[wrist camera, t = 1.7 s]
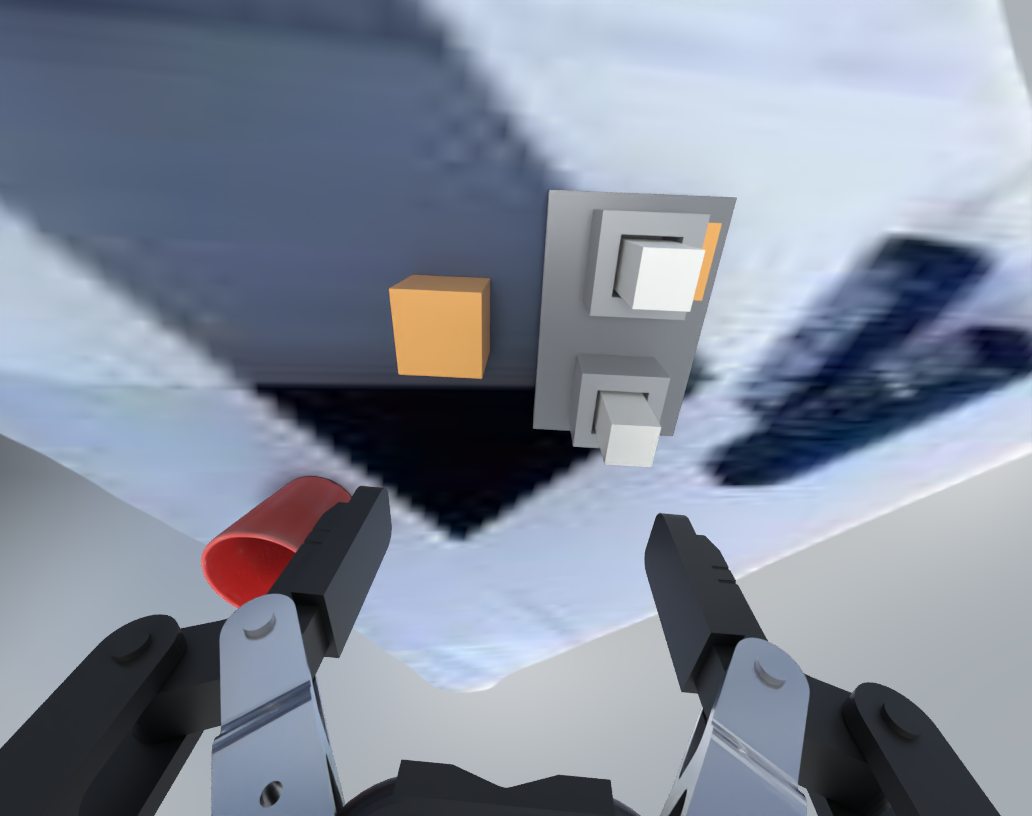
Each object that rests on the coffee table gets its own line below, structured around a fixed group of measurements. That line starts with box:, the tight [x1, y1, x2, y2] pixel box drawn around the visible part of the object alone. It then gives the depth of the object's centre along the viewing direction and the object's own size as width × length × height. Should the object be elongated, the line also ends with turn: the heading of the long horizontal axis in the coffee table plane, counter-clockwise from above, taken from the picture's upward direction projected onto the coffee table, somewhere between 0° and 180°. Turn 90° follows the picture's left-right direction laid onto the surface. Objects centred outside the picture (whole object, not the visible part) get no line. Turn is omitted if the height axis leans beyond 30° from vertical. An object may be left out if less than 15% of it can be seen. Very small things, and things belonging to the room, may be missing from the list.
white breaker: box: [613, 238, 705, 312], centre depth 22 cm, size 3×3×6 cm
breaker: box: [593, 390, 661, 467], centre depth 27 cm, size 3×3×6 cm
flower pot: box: [201, 476, 351, 608], centre depth 37 cm, size 11×11×10 cm
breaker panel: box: [533, 190, 737, 448], centre depth 28 cm, size 18×12×6 cm, turn 178°
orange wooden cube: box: [389, 275, 490, 379], centre depth 29 cm, size 6×6×6 cm
